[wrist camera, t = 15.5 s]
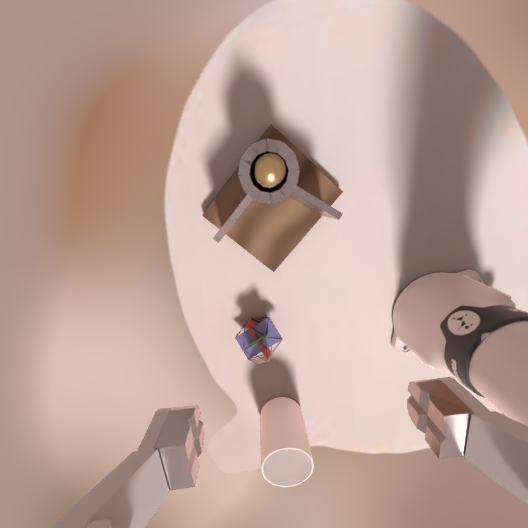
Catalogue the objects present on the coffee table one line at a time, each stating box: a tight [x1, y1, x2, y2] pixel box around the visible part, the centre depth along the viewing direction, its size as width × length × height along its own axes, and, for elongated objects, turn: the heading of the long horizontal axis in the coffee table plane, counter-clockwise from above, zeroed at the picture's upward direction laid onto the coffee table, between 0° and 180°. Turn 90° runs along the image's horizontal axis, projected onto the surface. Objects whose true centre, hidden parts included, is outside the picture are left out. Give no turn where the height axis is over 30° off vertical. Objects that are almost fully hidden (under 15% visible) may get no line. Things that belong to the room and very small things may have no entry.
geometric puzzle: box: [235, 317, 283, 364], centre depth 40 cm, size 7×7×8 cm
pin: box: [255, 153, 286, 190], centre depth 29 cm, size 3×3×12 cm
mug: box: [260, 397, 314, 487], centre depth 43 cm, size 12×8×10 cm
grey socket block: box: [213, 138, 342, 243], centre depth 32 cm, size 13×13×9 cm
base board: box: [202, 125, 343, 272], centre depth 37 cm, size 14×16×2 cm
